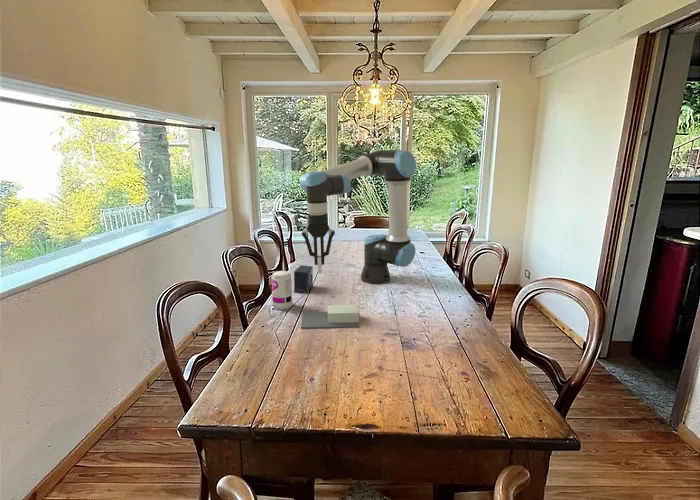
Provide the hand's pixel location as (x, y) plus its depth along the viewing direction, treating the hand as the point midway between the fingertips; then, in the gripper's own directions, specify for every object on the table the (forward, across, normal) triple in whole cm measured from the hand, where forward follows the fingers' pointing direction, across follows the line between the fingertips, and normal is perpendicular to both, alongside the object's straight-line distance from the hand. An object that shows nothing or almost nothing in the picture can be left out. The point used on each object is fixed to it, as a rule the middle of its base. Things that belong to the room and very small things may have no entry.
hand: (319, 272), depth 158 cm
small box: (+19, +8, -31) cm, 37 cm away
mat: (+18, -3, +5) cm, 19 cm away
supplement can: (+18, +17, -10) cm, 27 cm away
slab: (+16, -2, +5) cm, 17 cm away
